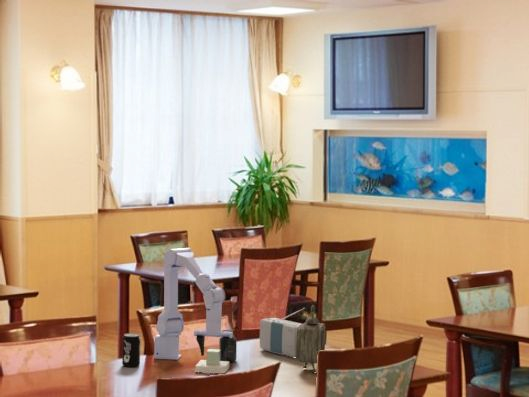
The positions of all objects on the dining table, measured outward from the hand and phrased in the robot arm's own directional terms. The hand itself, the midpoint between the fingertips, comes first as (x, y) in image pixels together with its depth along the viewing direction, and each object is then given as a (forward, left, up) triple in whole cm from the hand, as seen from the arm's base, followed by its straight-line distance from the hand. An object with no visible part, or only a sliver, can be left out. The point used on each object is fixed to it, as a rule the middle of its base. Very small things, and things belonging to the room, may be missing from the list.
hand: (212, 355), depth 400 cm
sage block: (0, 0, -3) cm, 3 cm away
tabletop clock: (+36, +9, -6) cm, 38 cm away
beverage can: (-31, -1, -6) cm, 32 cm away
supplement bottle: (+3, +17, -6) cm, 18 cm away
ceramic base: (0, 0, -6) cm, 6 cm away
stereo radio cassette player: (+23, +36, -6) cm, 43 cm away
